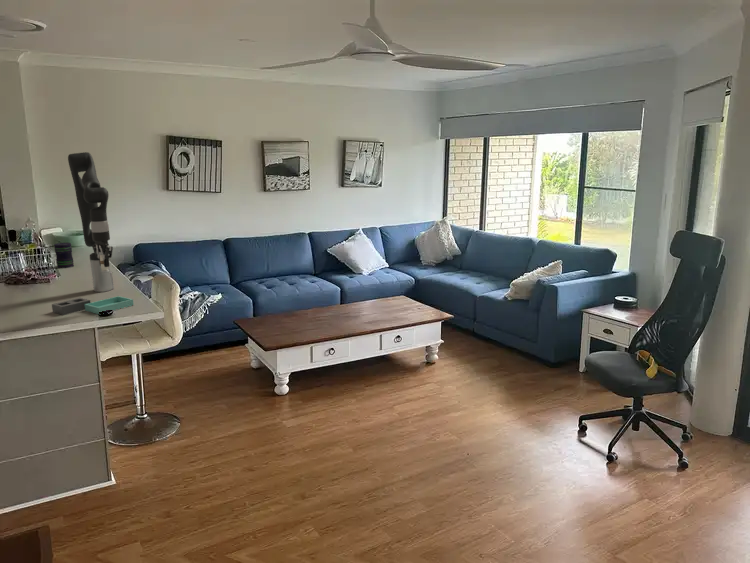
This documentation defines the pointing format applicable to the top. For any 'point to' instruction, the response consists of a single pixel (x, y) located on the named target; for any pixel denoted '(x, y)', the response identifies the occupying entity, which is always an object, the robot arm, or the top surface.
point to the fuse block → (70, 306)
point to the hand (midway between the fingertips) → (104, 266)
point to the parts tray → (108, 304)
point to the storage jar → (64, 255)
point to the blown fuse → (103, 269)
